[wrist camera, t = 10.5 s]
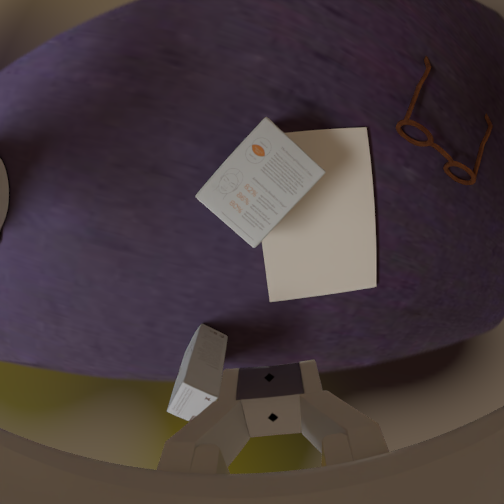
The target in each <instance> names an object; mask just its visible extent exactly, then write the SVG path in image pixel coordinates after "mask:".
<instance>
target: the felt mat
mask: <svg viewBox="0 0 504 504" xmlns="http://www.w3.org/2000/svg"><path fill="white" fill-rule="evenodd" d="M285 134H286V135H287V136H288V137H289V138H290V139H291V140H292V141H293V142H294V143H296V144H297V145H298V146H299V147H300V148H301V149H302V150H303V151H304V152H305V153H306V154H307V155H308V156H309V157H310V158H311V159H312V160H313V161H314V162H316V163H317V164H318V165H319V166H320V167H321V168H323V169H324V170H325V172H326V173H325V174H324V175H323V176H322V177H321V179H320V180H319V181H318V182H317V183H316V184H315V185H314V186H313V187H312V188H311V189H310V190H309V191H308V192H307V193H306V194H305V196H304V197H303V198H302V199H301V200H300V201H299V202H298V203H297V204H296V205H295V206H294V207H293V208H292V209H291V210H290V211H289V212H288V213H287V214H286V215H285V217H284V218H283V219H282V220H281V221H280V222H279V223H278V224H277V225H276V226H275V227H274V228H273V229H272V230H271V231H270V233H269V234H268V235H267V236H266V237H265V238H264V239H263V240H262V247H263V254H264V261H265V269H266V276H267V284H268V291H269V299H270V302H274V301H282V300H290V299H298V298H305V297H313V296H320V295H327V294H334V293H340V292H347V291H353V290H359V289H366V288H372V287H376V226H375V207H374V192H373V180H372V169H371V159H370V151H369V142H368V135H367V128H366V127H362V128H339V129H323V130H310V131H299V132H289V133H285Z"/></svg>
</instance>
